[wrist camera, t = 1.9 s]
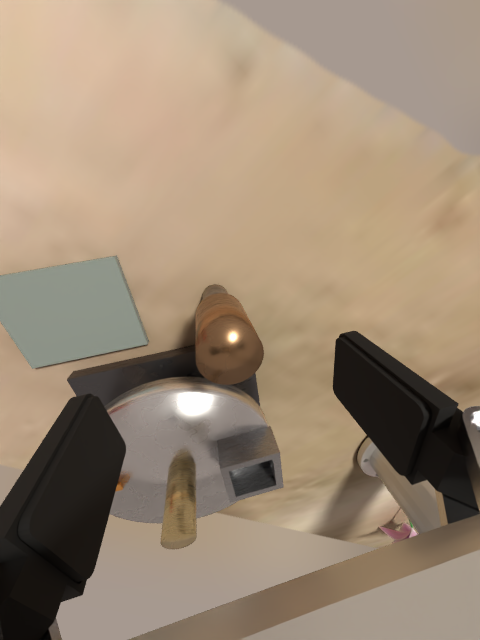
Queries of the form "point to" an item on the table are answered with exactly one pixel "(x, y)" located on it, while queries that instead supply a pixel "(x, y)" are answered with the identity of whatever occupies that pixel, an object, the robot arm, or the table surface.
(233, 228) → the table surface
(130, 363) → the chuck stand
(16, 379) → the table surface
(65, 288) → the mat
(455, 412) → the robot arm
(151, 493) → the chuck disc
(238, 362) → the copper bullet
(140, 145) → the table surface
